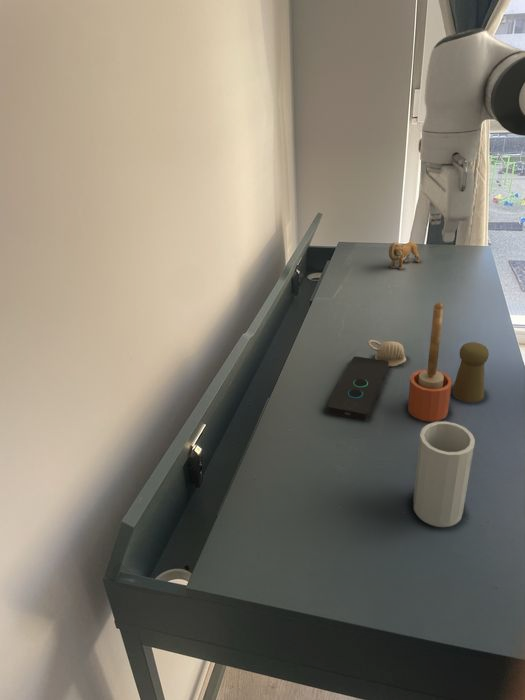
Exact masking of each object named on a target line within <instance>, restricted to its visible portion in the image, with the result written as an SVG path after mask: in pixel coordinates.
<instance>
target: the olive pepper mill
mask: <svg viewBox="0 0 525 700" xmlns="http://www.w3.org/2000/svg"><path fill="white" fill-rule="evenodd" d="M489 354H490V353H489V349H488V348H487V346H486V345H484V344H483V343H481V342H476V341H475V342H473V341H471V342H466V343H464V344H463V345H462V346H461V347H460V349H459V358H460V364H459V366H458V370H457V373H456V378H455V380H454V383H453V387H452V389H451V394H452V395H453V397H454V398H455V399H457V400H459V401H461V402H465V403H478V402H480V401H482V400H483V399H484V398H485V363H487V361H488V359H489Z"/></svg>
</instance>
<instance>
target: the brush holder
mask: <svg viewBox="0 0 525 700" xmlns="http://www.w3.org/2000/svg"><path fill="white" fill-rule="evenodd" d="M427 369H428V368H423V369H419V370H416V371H414V372H413V373H412V374H411V375H410V377H409V385H408V386H409V388H408V400H407V410H408V412H409V414H410V415H411V416H412V417H413V418H415V419H417V420H419V421H423V422H431V423H433V422H440V421H442V420H444V419H445V418H446V417H447V416H448V414H449V409H450V401H451V394H452V388H453V387H452V386H453V379H452V378H451V376H450V375H448V374H447V373H446V372H443V371H440V370H438V369H437V371H438V372H440V373H441V374H442V375H443V376H444V380H443V388H439V389H428V388H424V387H422V386H419V385H418V381H419V374H420V373H421V372H422V371H424V370H427Z"/></svg>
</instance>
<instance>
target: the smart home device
mask: <svg viewBox="0 0 525 700" xmlns="http://www.w3.org/2000/svg"><path fill="white" fill-rule="evenodd" d="M389 367H390V366H389V362H388V361H383V360H377V359H375V358H370V357H362V356H357V355H356V356H353V357H352V359H351V361H350V362H349V364H348V366H347V367H346V369H345V371H344V373H343V375H342V377H341V379H340V380H339V382H338V385H337V386H336V388H335V390H334V392H333V394H332V395H331V397H330V398H329V401H328V403H327V413H328V414H331V415H336V416H341V417H345V418H350V419H351V418H352V419H356V420H357V419H358V420H362V421H366V420H368V419H369V417H370V414H371V412H372V410H373V408H374V405H375V402H376V400H377V398H378V395H379V393H380V391H381V389H382V386H383V384H384V381H385V379H386V376H387V374H388V371H389Z"/></svg>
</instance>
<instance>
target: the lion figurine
mask: <svg viewBox="0 0 525 700" xmlns="http://www.w3.org/2000/svg"><path fill="white" fill-rule="evenodd" d="M410 254H412V255H413V256H414V258H415V260H414V261H415V262H416V263H419V262H420V254H419V251H418V245H417V244H416V242H414V241H411V242H407V243H405V244H403V245H402V244H401V243H399V242H398V241H395V242H392V243H391V244H390V245H389V246H388V257H389V259H390V260H391V264H392V265H390V268H391V269H394V268H395V267H396V262H398V261H399V264H398V270H403V268H404V267H403V263H407V262H408V260H409V259H410V256H411V255H410Z"/></svg>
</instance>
